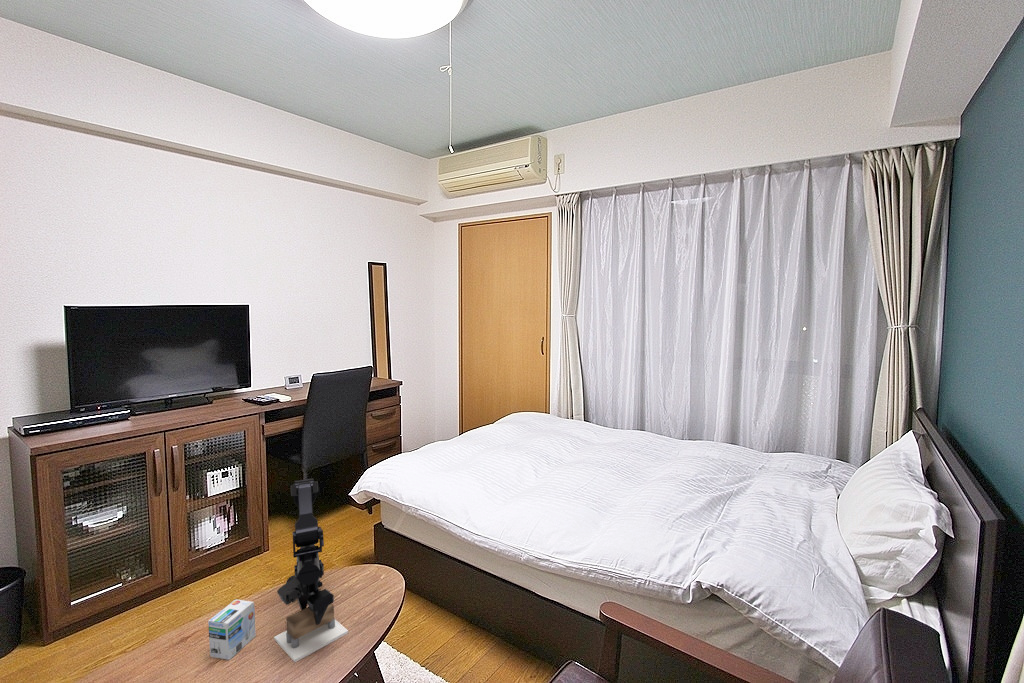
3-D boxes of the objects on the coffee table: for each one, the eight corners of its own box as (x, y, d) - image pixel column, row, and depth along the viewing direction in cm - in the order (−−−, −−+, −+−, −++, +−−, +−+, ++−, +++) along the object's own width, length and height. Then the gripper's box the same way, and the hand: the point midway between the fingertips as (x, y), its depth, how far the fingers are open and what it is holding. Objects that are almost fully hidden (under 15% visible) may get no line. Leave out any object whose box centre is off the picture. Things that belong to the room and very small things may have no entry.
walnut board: (326, 612, 150) (325, 598, 149) (334, 619, 146) (333, 605, 146) (287, 632, 141) (286, 617, 140) (294, 639, 137) (293, 624, 137)
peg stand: (274, 639, 143) (273, 628, 142) (326, 613, 154) (325, 603, 154) (294, 662, 133) (294, 651, 133) (348, 633, 145) (347, 622, 145)
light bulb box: (229, 661, 134) (227, 623, 133) (208, 657, 136) (206, 621, 135) (257, 635, 145) (255, 600, 144) (237, 632, 146) (235, 598, 145)
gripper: (267, 566, 143) (269, 617, 144) (294, 591, 130) (297, 646, 131) (304, 552, 151) (306, 600, 152) (333, 574, 138) (335, 626, 139)
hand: (310, 617), depth 143 cm, fingers open, 9 cm apart
